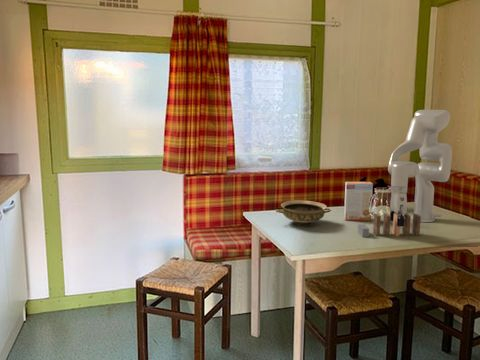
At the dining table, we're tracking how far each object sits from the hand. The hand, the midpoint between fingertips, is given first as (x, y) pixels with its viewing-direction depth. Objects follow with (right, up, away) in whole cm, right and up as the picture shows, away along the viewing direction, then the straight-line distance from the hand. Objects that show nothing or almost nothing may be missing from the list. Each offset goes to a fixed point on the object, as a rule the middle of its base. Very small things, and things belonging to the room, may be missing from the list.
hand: (396, 223), depth 216 cm
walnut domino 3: (+5, -5, +1) cm, 7 cm away
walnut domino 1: (-10, -5, +1) cm, 11 cm away
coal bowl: (+4, +4, +53) cm, 54 cm away
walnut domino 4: (+10, -5, +1) cm, 11 cm away
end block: (-16, -5, +1) cm, 17 cm away
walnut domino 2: (-5, -5, +1) cm, 7 cm away
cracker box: (-12, -1, +29) cm, 31 cm away
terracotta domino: (0, -5, +1) cm, 5 cm away
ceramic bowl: (-43, -2, +20) cm, 47 cm away
